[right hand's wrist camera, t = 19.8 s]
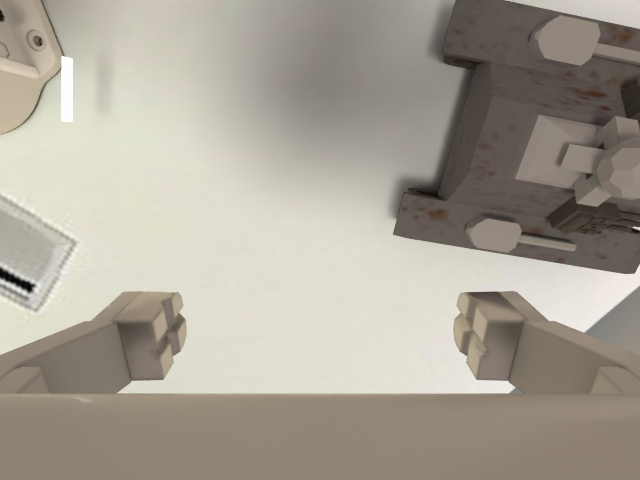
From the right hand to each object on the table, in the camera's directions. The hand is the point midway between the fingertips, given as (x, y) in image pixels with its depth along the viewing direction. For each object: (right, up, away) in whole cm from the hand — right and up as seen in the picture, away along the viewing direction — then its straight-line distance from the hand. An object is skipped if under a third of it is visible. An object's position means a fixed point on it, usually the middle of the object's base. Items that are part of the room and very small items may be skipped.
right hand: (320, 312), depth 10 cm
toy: (+21, +12, +25) cm, 35 cm away
